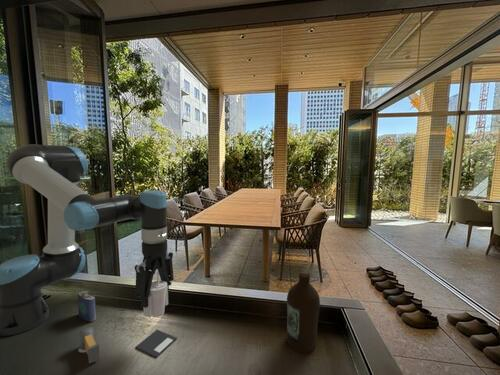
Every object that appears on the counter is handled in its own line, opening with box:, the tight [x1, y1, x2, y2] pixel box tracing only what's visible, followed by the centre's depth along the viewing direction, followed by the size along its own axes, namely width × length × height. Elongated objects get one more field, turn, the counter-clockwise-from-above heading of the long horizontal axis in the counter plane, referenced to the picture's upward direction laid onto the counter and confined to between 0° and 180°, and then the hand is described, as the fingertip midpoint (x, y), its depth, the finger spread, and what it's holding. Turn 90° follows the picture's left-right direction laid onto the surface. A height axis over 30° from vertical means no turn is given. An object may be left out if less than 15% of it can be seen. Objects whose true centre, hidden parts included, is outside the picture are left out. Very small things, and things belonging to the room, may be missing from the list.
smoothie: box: [149, 271, 168, 318], centre depth 79 cm, size 6×6×14 cm
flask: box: [77, 290, 97, 323], centre depth 93 cm, size 9×3×11 cm, turn 61°
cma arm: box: [79, 326, 100, 364], centre depth 76 cm, size 11×4×5 cm, turn 44°
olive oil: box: [286, 268, 321, 354], centre depth 82 cm, size 11×11×25 cm
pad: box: [135, 329, 178, 359], centre depth 81 cm, size 9×9×1 cm
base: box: [77, 339, 98, 354], centre depth 79 cm, size 5×5×1 cm
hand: (156, 309), depth 80 cm, fingers closed on smoothie, 6 cm apart
